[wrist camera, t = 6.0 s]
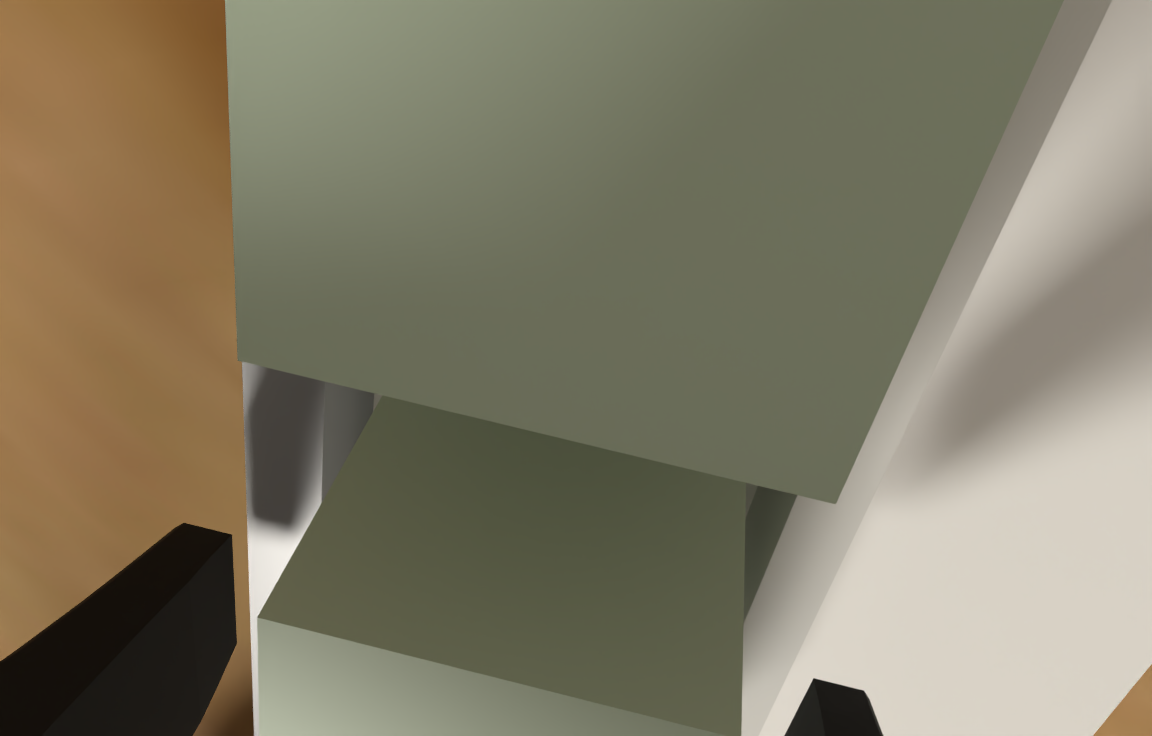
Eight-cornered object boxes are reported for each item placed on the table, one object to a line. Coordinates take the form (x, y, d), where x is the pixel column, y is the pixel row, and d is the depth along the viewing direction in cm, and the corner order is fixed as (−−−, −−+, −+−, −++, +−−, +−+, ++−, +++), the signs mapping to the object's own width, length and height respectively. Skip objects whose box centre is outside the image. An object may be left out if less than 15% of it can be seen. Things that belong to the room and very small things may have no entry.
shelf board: (2116, -713, 7) (2930, -976, 4) (903, 898, 21) (924, 1069, 18) (389, -1042, 7) (183, -1467, 5) (321, 751, 21) (259, 897, 18)
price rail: (476, -1135, 6) (379, -1432, 5) (346, 813, 20) (309, 910, 18) (309, -1166, 6) (153, -1475, 5) (292, 799, 20) (250, 894, 18)
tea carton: (632, 672, 16) (576, 1086, 11) (405, 615, 16) (252, 1001, 11) (748, 329, 12) (740, 738, 7) (447, 257, 12) (238, 613, 7)
